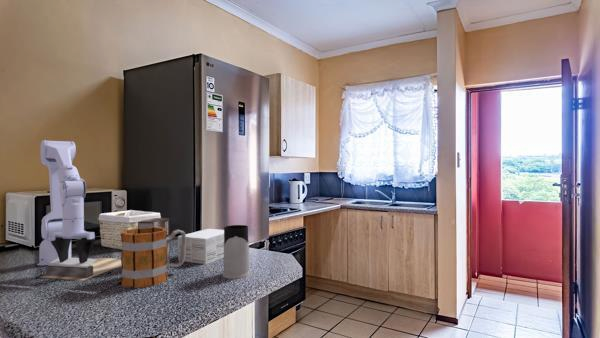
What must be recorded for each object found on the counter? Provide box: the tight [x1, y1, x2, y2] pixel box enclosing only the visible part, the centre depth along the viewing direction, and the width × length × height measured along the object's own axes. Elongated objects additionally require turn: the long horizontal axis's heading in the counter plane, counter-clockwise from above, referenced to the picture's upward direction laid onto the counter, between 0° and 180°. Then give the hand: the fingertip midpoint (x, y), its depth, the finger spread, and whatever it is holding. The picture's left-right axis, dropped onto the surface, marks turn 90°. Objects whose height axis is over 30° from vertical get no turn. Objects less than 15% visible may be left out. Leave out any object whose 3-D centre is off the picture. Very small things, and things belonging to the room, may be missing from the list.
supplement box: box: [177, 228, 224, 265], centre depth 134 cm, size 17×13×9 cm
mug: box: [120, 227, 186, 289], centre depth 108 cm, size 20×14×15 cm
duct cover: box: [47, 256, 97, 268], centre depth 110 cm, size 14×4×1 cm, turn 77°
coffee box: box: [138, 217, 171, 263], centre depth 122 cm, size 9×6×16 cm
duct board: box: [40, 257, 122, 281], centre depth 118 cm, size 16×24×4 cm, turn 167°
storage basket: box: [97, 209, 162, 251], centre depth 155 cm, size 24×16×15 cm
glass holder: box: [222, 224, 252, 280], centre depth 113 cm, size 9×14×15 cm, turn 9°
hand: (73, 262), depth 110 cm, fingers open, 7 cm apart
